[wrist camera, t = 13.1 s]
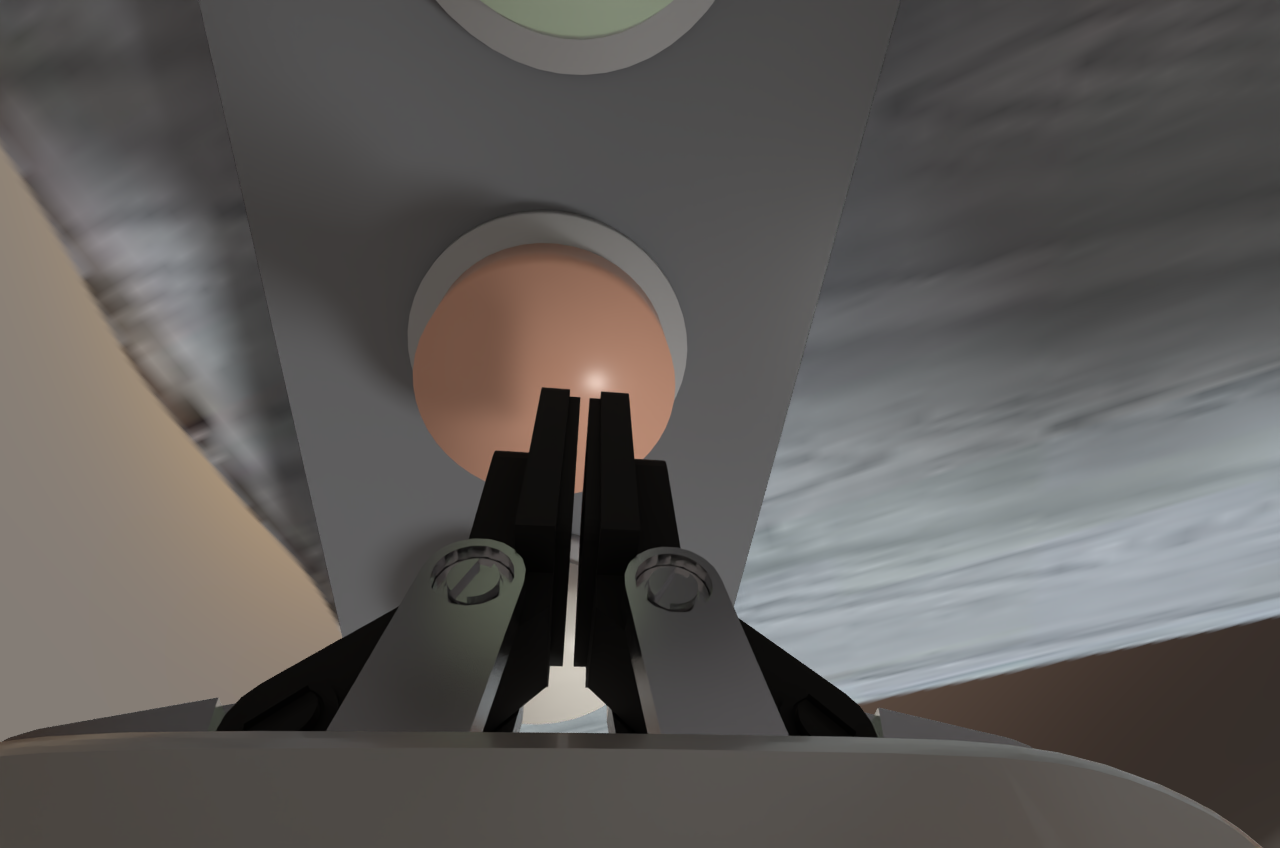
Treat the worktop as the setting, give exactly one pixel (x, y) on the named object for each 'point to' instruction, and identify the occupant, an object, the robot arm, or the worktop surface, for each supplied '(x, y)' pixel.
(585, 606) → the robot arm
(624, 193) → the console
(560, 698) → the button white
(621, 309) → the button terracotta
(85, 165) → the worktop surface
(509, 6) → the button green
